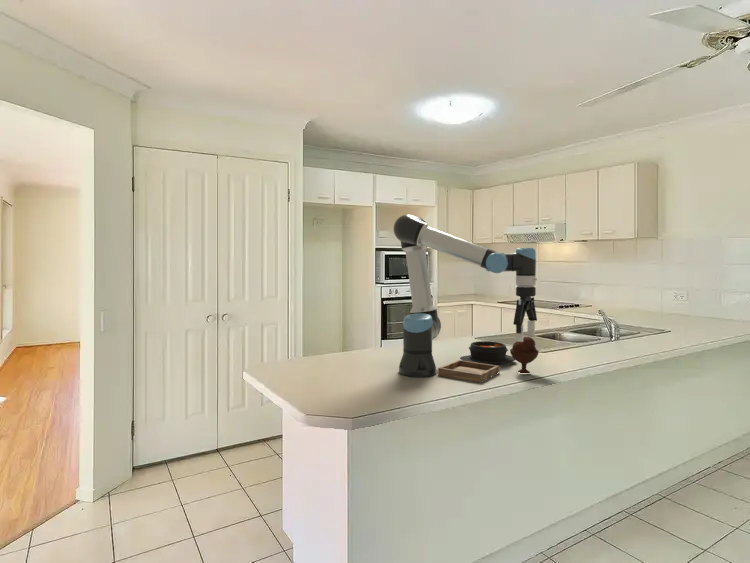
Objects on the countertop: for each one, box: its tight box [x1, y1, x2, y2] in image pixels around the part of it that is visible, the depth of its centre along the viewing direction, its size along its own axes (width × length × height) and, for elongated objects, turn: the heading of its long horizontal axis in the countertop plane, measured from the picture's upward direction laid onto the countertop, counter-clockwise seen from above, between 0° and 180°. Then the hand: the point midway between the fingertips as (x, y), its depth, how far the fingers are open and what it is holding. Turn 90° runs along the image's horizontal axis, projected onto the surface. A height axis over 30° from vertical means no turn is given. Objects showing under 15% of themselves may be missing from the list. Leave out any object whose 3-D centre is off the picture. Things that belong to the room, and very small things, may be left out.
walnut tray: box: [437, 359, 500, 383], centre depth 189 cm, size 18×18×3 cm
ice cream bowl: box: [509, 336, 540, 373], centre depth 191 cm, size 11×11×15 cm
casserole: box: [459, 340, 516, 366], centre depth 210 cm, size 25×19×8 cm
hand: (525, 339), depth 190 cm, fingers open, 13 cm apart
